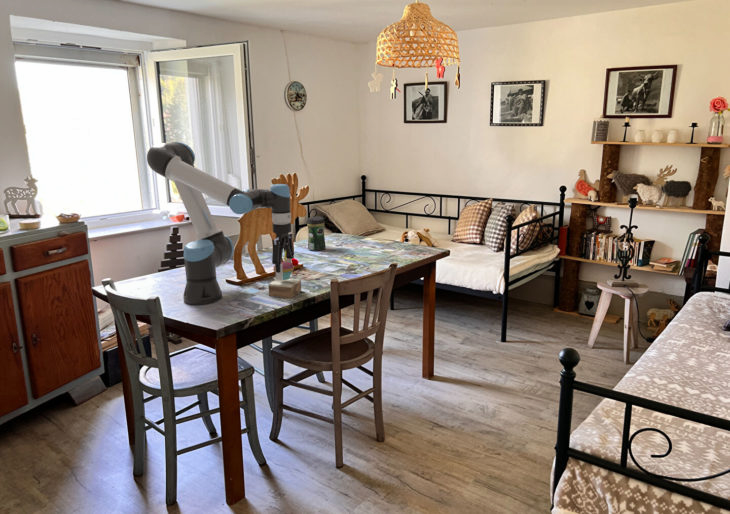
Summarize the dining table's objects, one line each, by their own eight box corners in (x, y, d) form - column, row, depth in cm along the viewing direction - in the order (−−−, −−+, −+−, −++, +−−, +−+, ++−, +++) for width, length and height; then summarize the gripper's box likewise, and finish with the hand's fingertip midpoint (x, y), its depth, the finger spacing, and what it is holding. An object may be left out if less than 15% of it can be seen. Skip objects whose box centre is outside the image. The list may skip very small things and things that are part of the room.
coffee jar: (318, 246, 311) (317, 214, 306) (327, 249, 305) (326, 216, 301) (305, 249, 304) (304, 217, 300) (314, 252, 299) (313, 218, 294)
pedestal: (291, 297, 221) (290, 286, 220) (269, 295, 224) (268, 284, 223) (301, 290, 231) (300, 279, 229) (279, 288, 234) (279, 277, 232)
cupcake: (280, 274, 231) (279, 247, 228) (298, 276, 228) (297, 248, 225) (270, 280, 223) (268, 251, 221) (288, 282, 220) (286, 253, 218)
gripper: (278, 228, 209) (281, 284, 215) (301, 218, 229) (303, 270, 234) (261, 227, 212) (264, 282, 217) (284, 218, 231) (287, 269, 237)
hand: (284, 276), depth 226 cm, fingers closed on cupcake, 8 cm apart
